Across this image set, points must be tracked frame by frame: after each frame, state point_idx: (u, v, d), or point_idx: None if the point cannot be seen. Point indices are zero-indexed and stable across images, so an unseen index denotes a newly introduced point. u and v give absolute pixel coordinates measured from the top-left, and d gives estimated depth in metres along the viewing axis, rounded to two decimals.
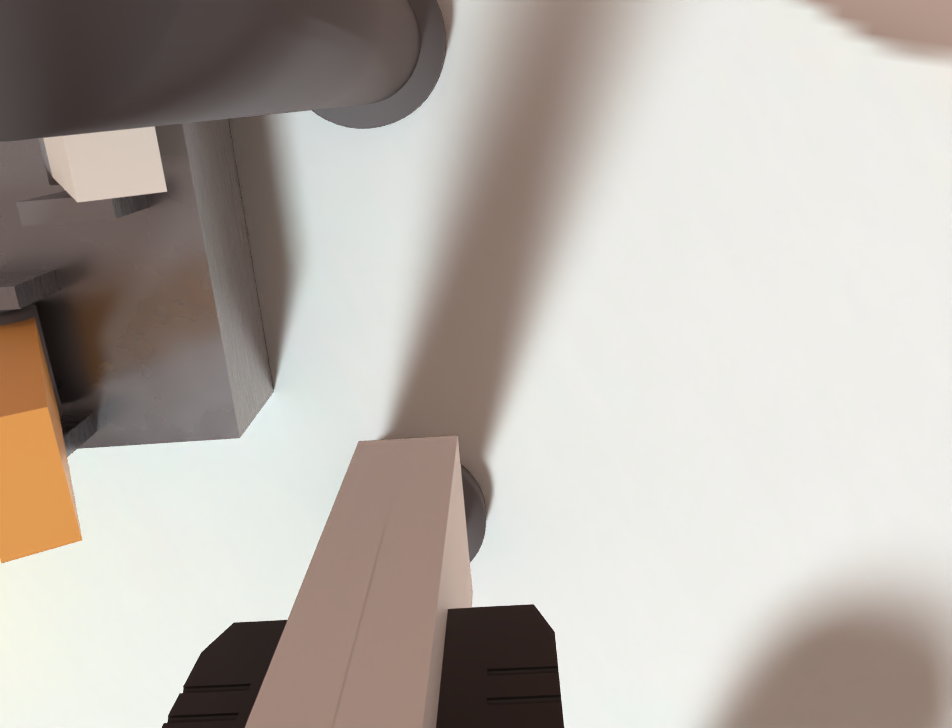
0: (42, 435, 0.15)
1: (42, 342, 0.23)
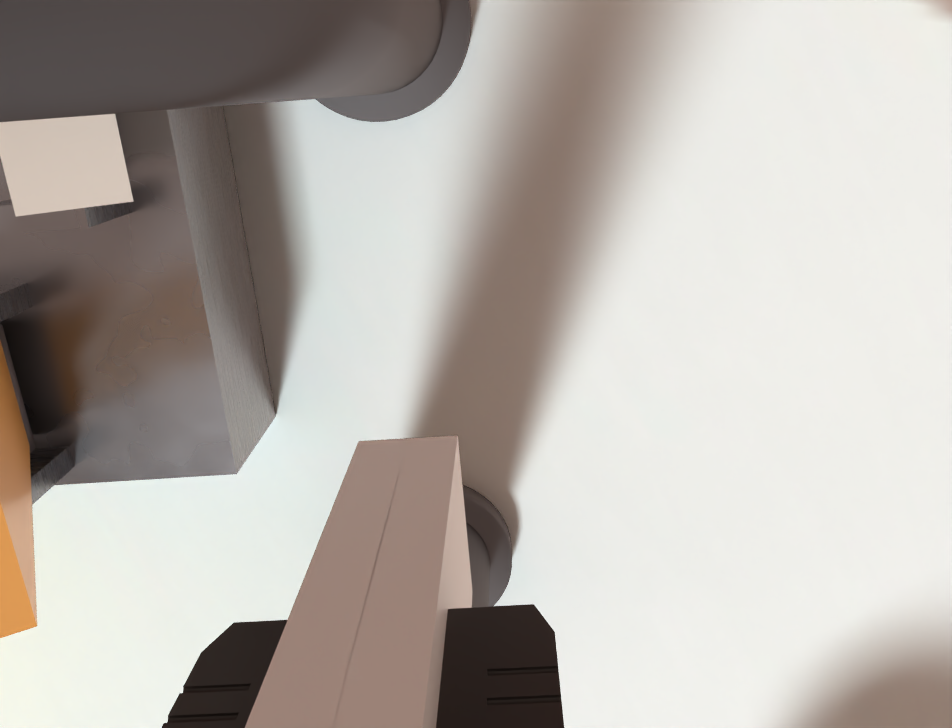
0: None
1: (9, 367, 0.20)
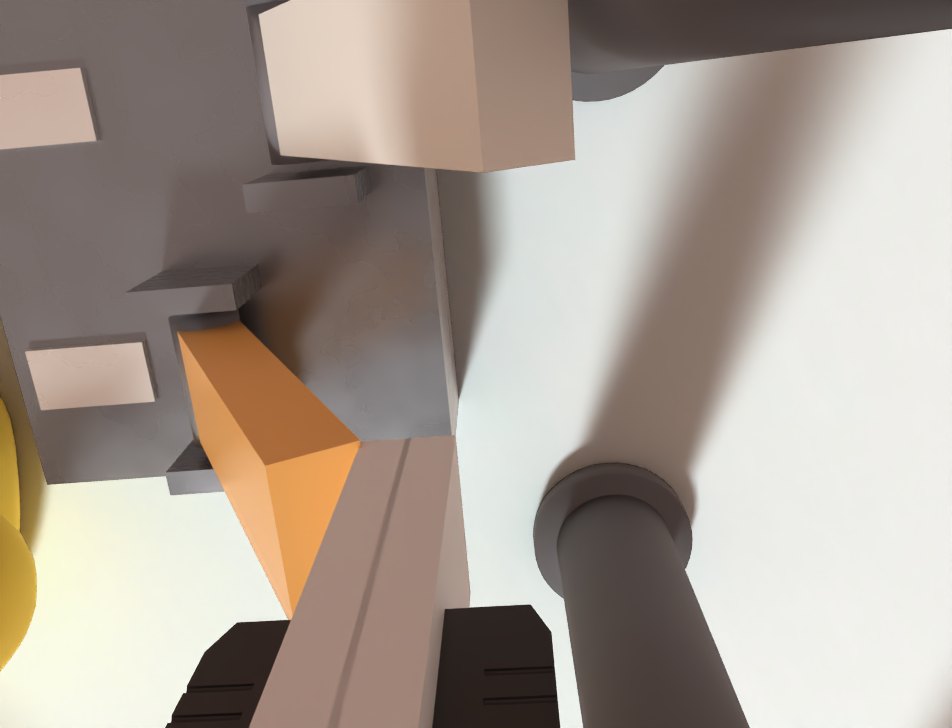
0: None
1: None
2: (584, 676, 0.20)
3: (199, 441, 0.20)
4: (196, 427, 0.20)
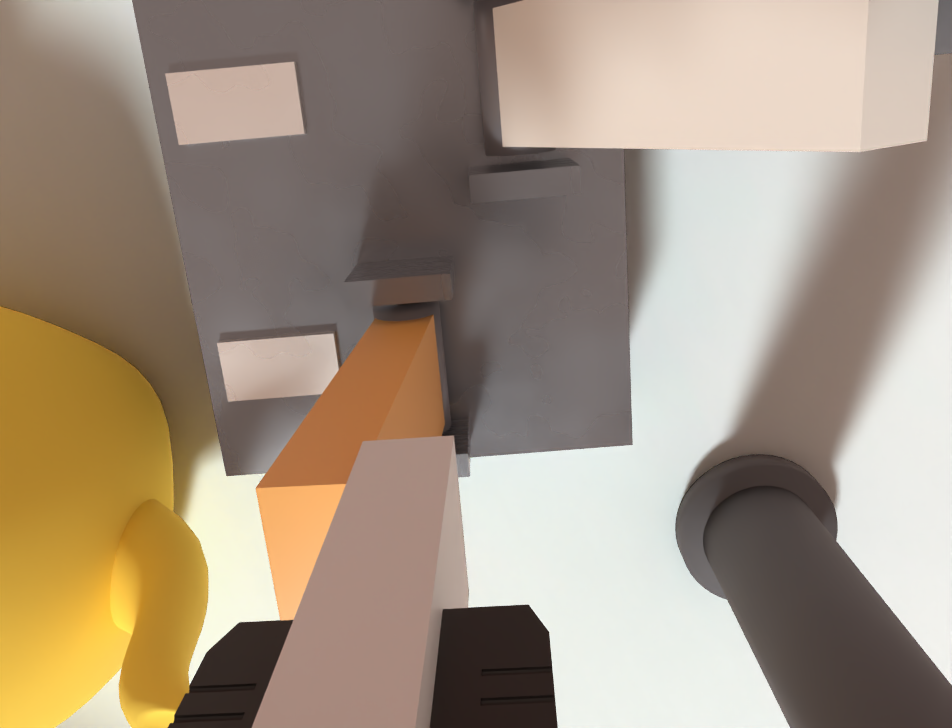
0: None
1: (438, 344, 0.20)
2: (783, 661, 0.20)
3: None
4: None
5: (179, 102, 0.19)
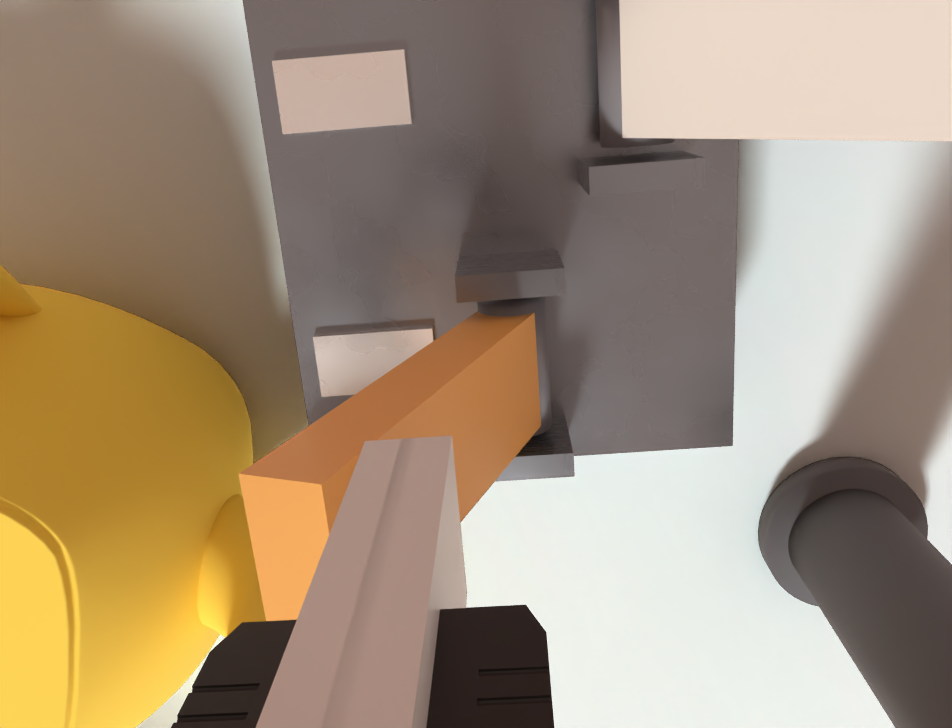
0: (314, 516, 0.11)
1: (538, 343, 0.19)
2: (895, 670, 0.19)
3: None
4: None
5: (285, 90, 0.19)
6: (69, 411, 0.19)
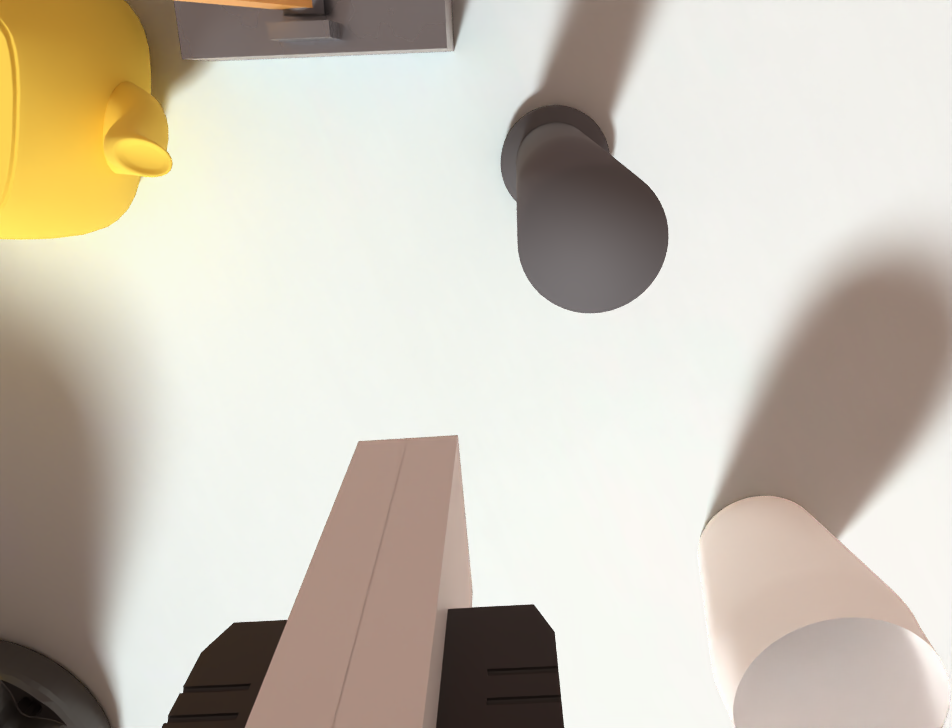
0: None
1: None
2: (519, 162, 0.31)
3: (282, 9, 0.32)
4: None
5: None
6: None
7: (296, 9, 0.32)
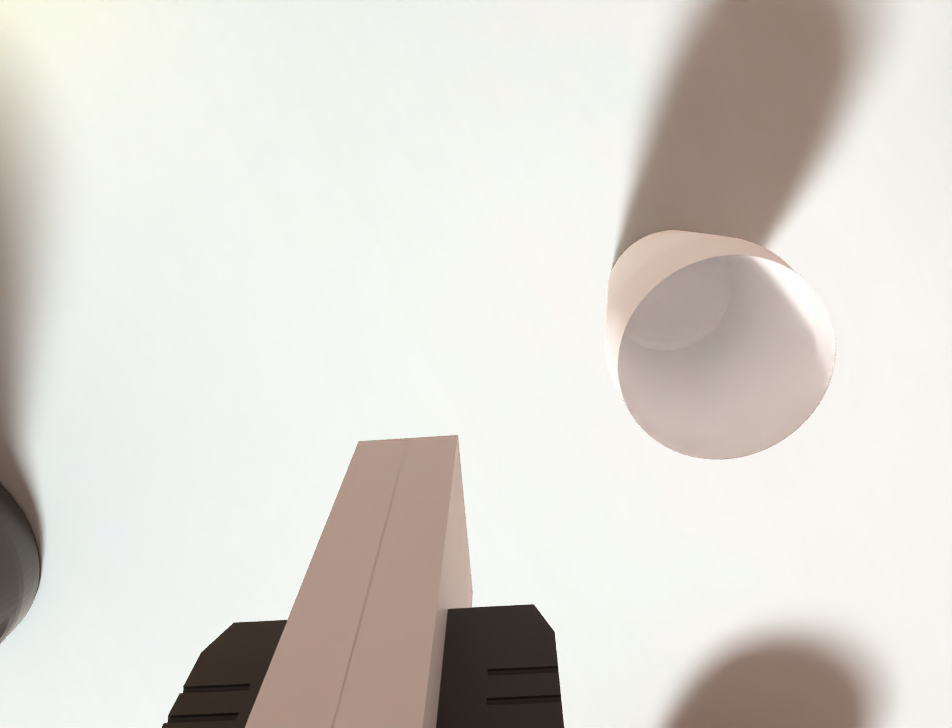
0: None
1: None
2: None
3: None
4: None
5: None
6: None
7: None
